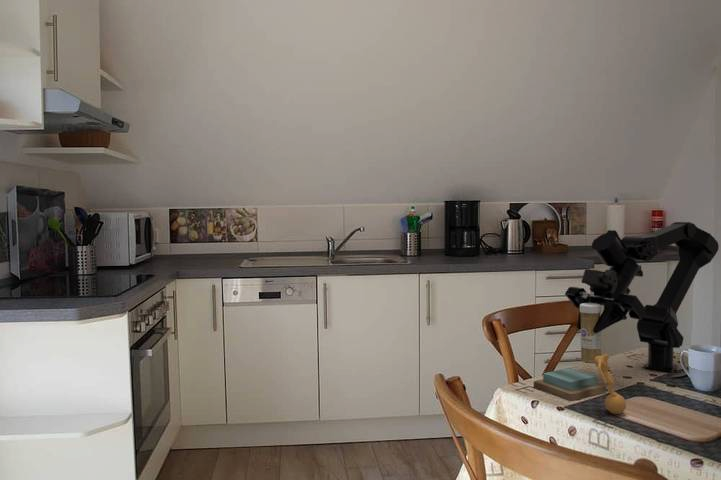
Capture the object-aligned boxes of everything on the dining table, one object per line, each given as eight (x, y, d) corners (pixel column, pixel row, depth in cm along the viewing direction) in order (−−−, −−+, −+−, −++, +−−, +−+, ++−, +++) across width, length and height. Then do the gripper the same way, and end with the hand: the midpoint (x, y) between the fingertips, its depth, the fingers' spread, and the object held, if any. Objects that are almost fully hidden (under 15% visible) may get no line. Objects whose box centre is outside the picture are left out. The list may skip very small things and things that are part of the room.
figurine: (623, 421, 114) (624, 360, 113) (590, 416, 117) (591, 357, 116) (628, 408, 121) (628, 351, 121) (597, 404, 124) (597, 348, 124)
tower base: (567, 380, 141) (567, 365, 141) (606, 392, 132) (606, 377, 131) (533, 387, 136) (533, 372, 136) (571, 401, 126) (571, 385, 126)
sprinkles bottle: (576, 361, 137) (575, 304, 137) (588, 358, 140) (587, 301, 139) (594, 365, 133) (593, 305, 133) (605, 361, 136) (604, 303, 136)
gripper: (570, 254, 145) (537, 303, 141) (637, 259, 129) (603, 315, 125) (591, 283, 150) (561, 331, 145) (660, 291, 133) (628, 346, 129)
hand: (586, 330), depth 136 cm, fingers closed on sprinkles bottle, 4 cm apart
